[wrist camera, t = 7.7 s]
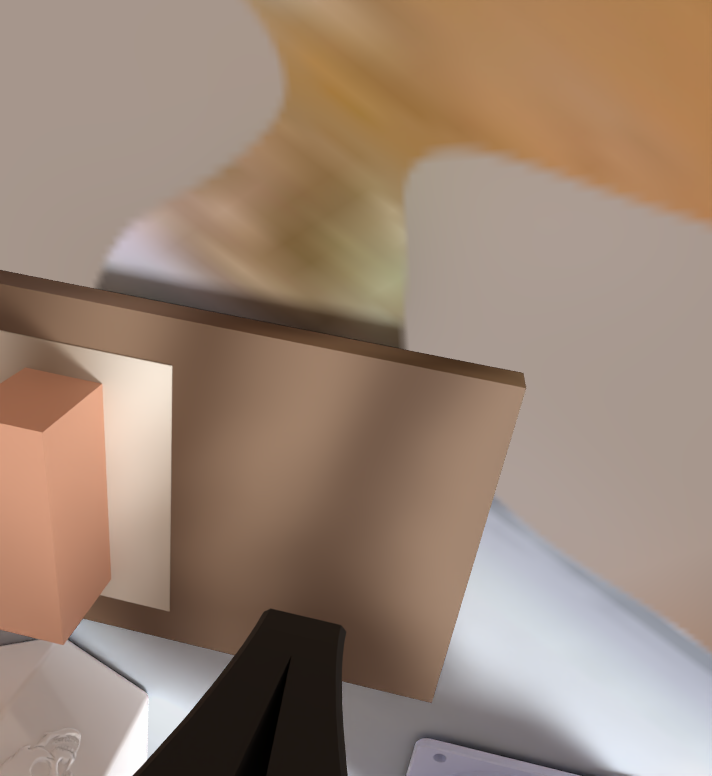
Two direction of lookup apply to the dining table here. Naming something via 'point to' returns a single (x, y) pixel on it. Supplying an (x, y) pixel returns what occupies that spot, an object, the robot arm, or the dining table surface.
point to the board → (277, 473)
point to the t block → (51, 503)
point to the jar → (68, 714)
